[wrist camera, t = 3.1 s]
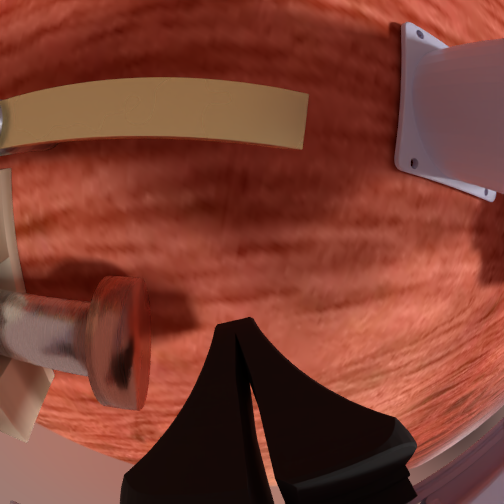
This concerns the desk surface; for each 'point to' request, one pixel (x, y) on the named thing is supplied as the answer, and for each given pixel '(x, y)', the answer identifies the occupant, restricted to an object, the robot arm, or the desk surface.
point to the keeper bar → (154, 113)
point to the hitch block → (5, 368)
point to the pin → (86, 337)
